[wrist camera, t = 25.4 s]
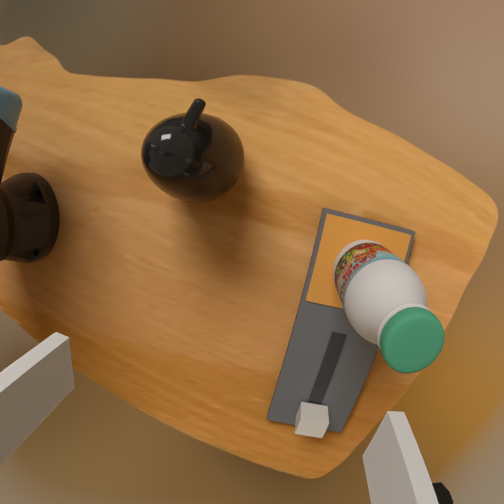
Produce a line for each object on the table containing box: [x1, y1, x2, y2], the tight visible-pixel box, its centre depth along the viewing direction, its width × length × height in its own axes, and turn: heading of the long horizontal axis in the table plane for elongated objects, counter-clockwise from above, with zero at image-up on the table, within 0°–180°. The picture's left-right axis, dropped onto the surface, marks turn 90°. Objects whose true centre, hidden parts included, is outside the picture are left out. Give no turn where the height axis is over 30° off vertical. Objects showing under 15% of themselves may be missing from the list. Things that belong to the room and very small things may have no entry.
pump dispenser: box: [141, 98, 244, 202], centre depth 32 cm, size 10×10×15 cm
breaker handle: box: [295, 402, 329, 438], centre depth 41 cm, size 4×3×4 cm
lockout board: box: [266, 208, 415, 432], centre depth 41 cm, size 12×32×2 cm, turn 168°
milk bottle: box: [333, 240, 444, 373], centre depth 28 cm, size 8×8×20 cm
